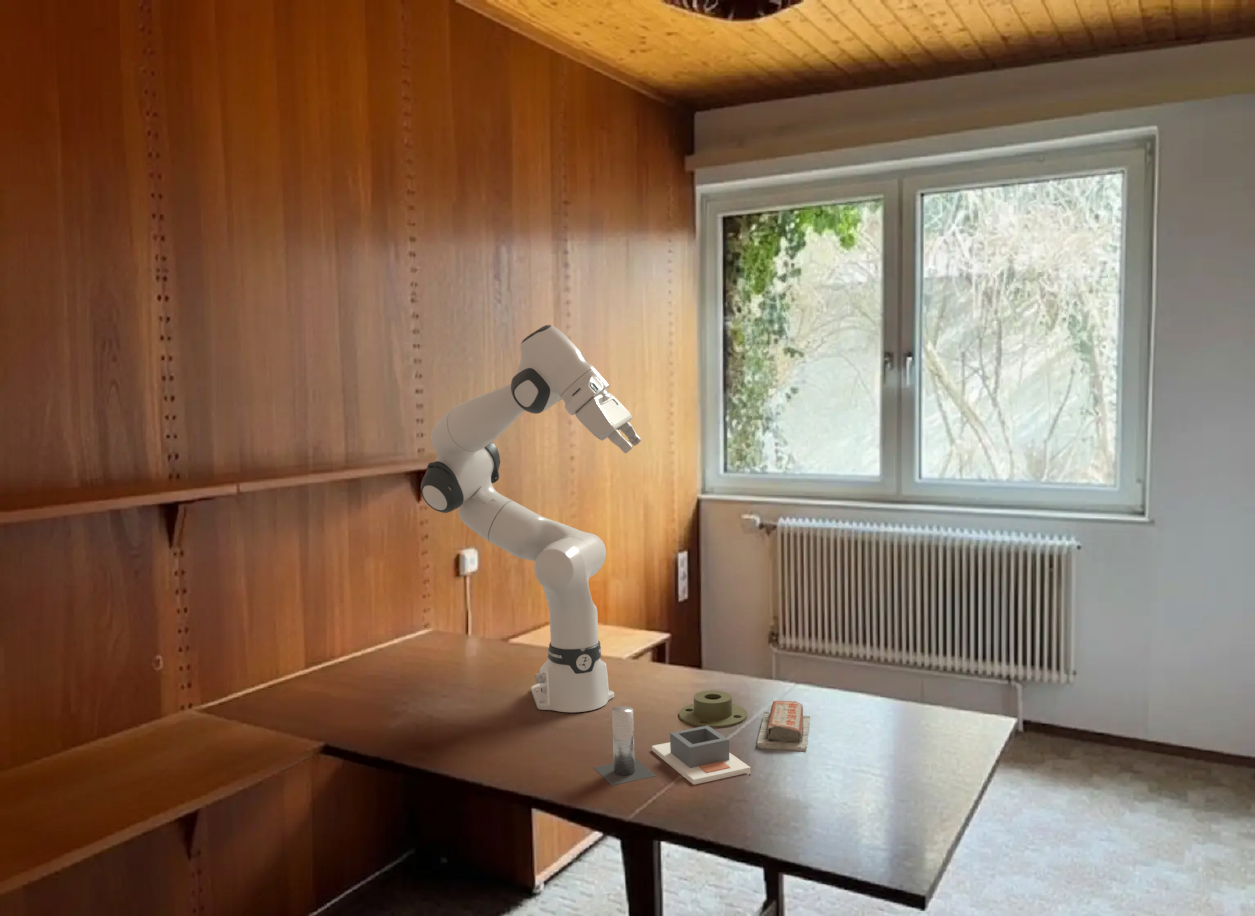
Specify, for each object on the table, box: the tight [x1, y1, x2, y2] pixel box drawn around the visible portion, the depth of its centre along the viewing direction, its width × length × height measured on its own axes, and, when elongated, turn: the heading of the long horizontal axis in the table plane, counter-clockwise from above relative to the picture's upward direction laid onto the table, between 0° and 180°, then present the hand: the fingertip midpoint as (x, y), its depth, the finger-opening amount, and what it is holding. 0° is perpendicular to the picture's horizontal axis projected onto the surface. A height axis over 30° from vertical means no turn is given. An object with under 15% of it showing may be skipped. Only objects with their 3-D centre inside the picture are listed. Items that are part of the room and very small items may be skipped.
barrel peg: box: [611, 705, 636, 776], centre depth 177 cm, size 4×4×12 cm
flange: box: [678, 689, 748, 729], centre depth 208 cm, size 5×15×15 cm
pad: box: [593, 758, 657, 787], centre depth 178 cm, size 9×9×1 cm
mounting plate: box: [651, 725, 752, 785], centre depth 182 cm, size 18×12×6 cm, turn 24°
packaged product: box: [756, 700, 811, 752], centre depth 196 cm, size 18×5×10 cm
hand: (633, 447), depth 184 cm, fingers open, 8 cm apart
